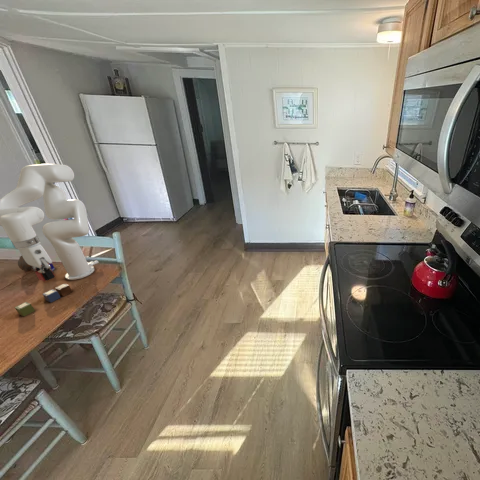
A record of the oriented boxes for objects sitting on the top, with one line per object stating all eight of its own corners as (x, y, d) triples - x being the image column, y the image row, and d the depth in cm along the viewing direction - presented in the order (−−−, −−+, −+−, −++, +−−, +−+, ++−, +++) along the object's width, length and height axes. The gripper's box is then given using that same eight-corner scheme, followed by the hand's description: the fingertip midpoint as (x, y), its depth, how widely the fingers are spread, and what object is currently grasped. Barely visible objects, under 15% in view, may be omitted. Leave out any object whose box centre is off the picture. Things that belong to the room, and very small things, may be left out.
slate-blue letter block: (56, 295, 132) (52, 289, 130) (60, 297, 130) (57, 290, 128) (46, 300, 128) (42, 293, 126) (50, 302, 127) (46, 295, 125)
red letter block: (49, 274, 122) (45, 267, 120) (55, 276, 120) (51, 269, 119) (39, 279, 118) (34, 272, 116) (44, 281, 117) (40, 273, 115)
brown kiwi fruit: (19, 273, 149) (11, 260, 145) (24, 267, 154) (16, 254, 150) (36, 270, 151) (28, 257, 147) (40, 264, 157) (33, 252, 153)
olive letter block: (30, 308, 123) (25, 301, 122) (35, 310, 122) (30, 303, 120) (19, 314, 120) (14, 307, 118) (23, 316, 119) (19, 309, 117)
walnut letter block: (67, 289, 136) (64, 283, 134) (72, 291, 134) (68, 285, 133) (58, 294, 132) (54, 287, 131) (63, 296, 131) (59, 289, 129)
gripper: (49, 241, 111) (68, 277, 120) (26, 235, 117) (45, 269, 125) (26, 249, 105) (48, 286, 114) (3, 242, 110) (25, 278, 119)
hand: (47, 277), depth 119 cm, fingers closed on red letter block, 4 cm apart
